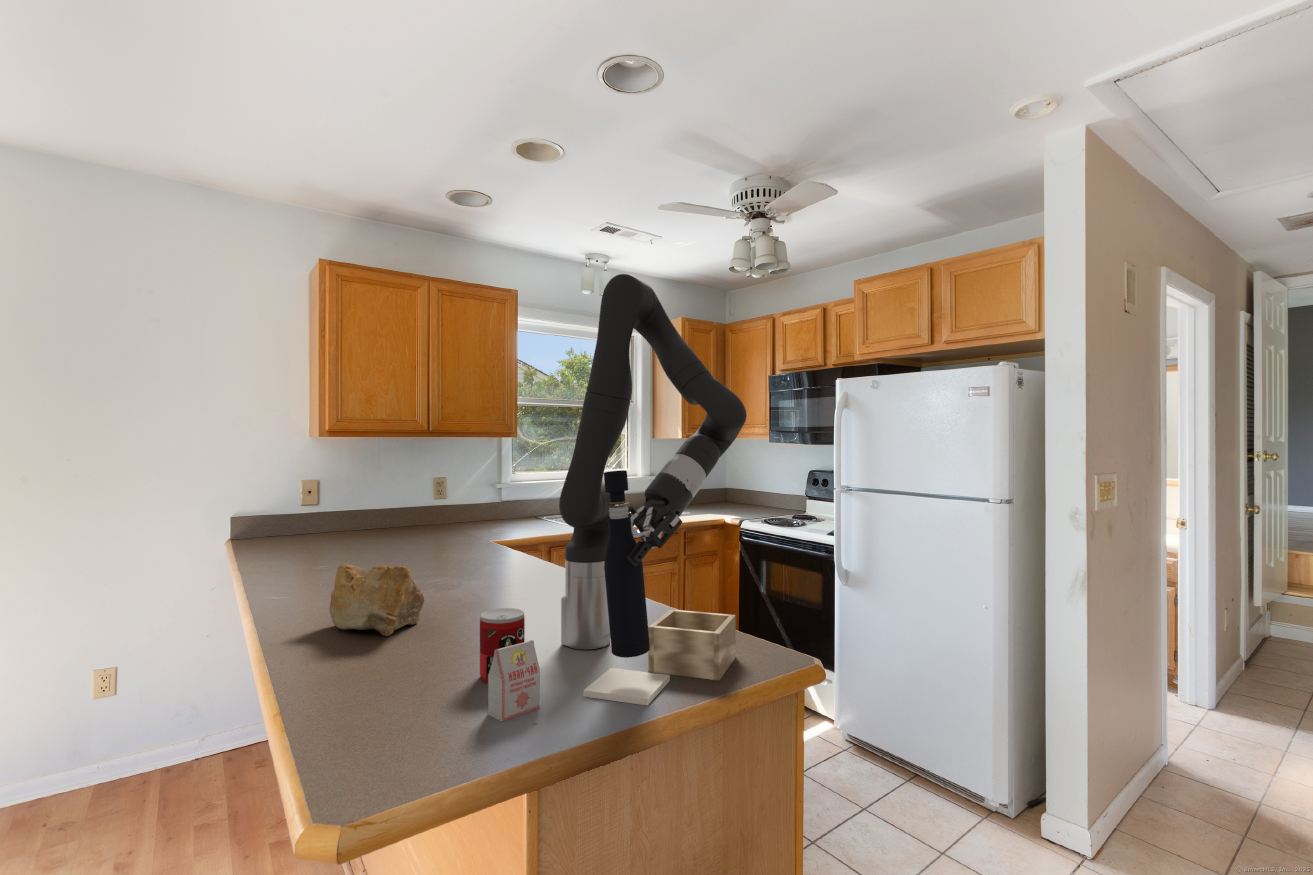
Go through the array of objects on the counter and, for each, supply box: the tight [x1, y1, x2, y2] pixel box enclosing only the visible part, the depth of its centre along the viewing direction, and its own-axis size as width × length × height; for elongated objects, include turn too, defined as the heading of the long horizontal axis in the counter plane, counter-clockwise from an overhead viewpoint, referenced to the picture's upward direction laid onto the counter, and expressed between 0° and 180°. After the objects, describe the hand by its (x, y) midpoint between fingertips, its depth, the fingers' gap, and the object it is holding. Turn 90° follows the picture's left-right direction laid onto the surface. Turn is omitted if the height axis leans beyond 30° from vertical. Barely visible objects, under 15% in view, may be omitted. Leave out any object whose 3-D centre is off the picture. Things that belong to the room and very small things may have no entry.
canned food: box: [479, 607, 526, 684], centre depth 111 cm, size 8×8×11 cm
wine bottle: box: [603, 469, 650, 659], centre depth 105 cm, size 6×6×30 cm
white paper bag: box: [487, 640, 541, 722], centre depth 96 cm, size 4×7×10 cm, turn 137°
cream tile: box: [583, 667, 671, 707], centre depth 105 cm, size 11×11×1 cm
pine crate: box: [647, 609, 737, 681], centre depth 117 cm, size 13×13×8 cm
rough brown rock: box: [329, 564, 425, 637], centre depth 142 cm, size 23×17×15 cm
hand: (620, 559), depth 104 cm, fingers closed on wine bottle, 6 cm apart
